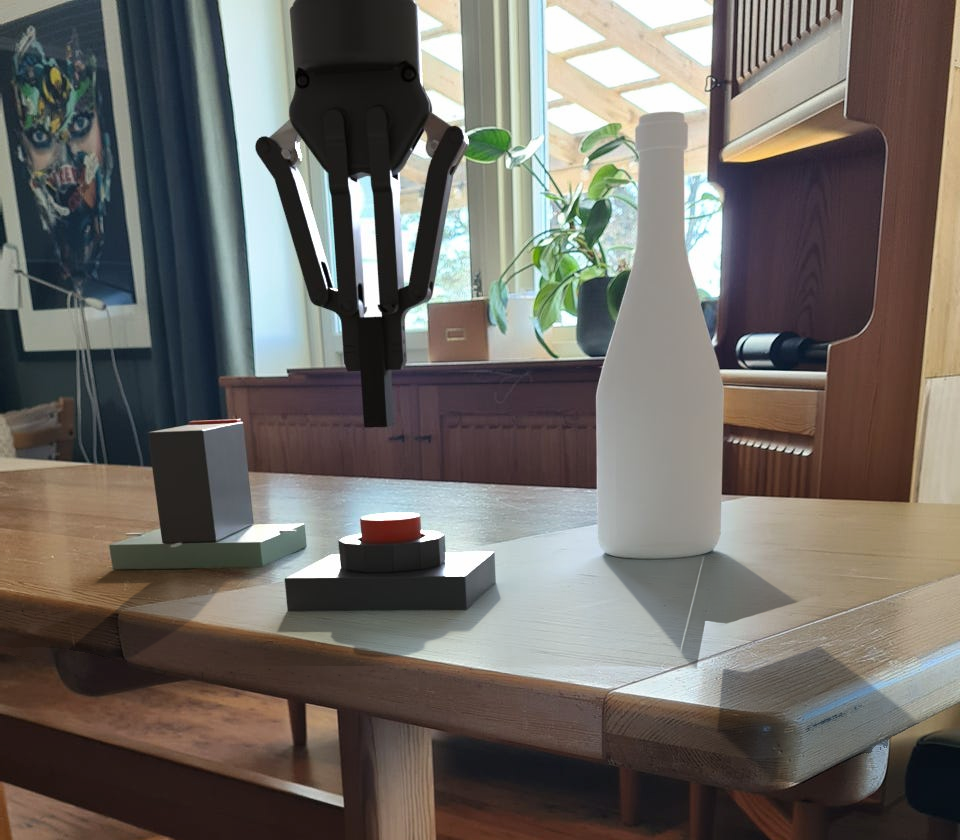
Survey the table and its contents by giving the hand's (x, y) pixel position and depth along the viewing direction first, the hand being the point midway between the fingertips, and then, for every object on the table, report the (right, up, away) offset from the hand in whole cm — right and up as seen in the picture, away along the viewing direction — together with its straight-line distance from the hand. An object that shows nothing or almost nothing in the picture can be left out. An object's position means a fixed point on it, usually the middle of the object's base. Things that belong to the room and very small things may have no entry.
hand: (379, 425), depth 83 cm
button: (+1, -7, +3) cm, 8 cm away
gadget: (-16, -1, +25) cm, 30 cm away
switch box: (+1, -10, +4) cm, 11 cm away
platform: (-16, -3, +25) cm, 30 cm away
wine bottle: (+21, -4, +17) cm, 27 cm away
